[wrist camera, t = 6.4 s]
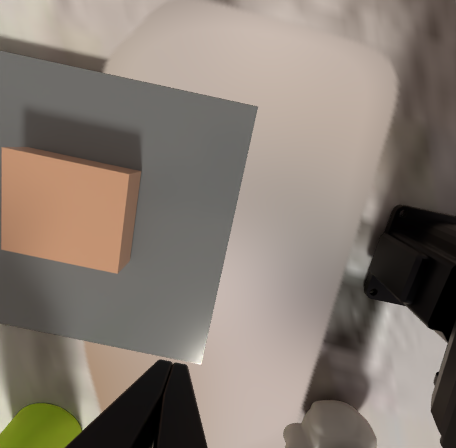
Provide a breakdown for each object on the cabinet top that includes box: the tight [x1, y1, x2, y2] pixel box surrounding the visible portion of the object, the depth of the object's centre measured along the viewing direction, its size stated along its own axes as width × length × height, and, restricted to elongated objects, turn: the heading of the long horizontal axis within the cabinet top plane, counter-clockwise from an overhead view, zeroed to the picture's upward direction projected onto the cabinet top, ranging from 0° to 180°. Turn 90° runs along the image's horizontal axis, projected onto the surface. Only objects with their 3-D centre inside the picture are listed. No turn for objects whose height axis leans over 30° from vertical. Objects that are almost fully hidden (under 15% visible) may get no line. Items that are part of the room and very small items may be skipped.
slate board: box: [0, 51, 258, 364], centre depth 19 cm, size 16×18×1 cm
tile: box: [1, 147, 141, 274], centre depth 18 cm, size 2×6×7 cm
